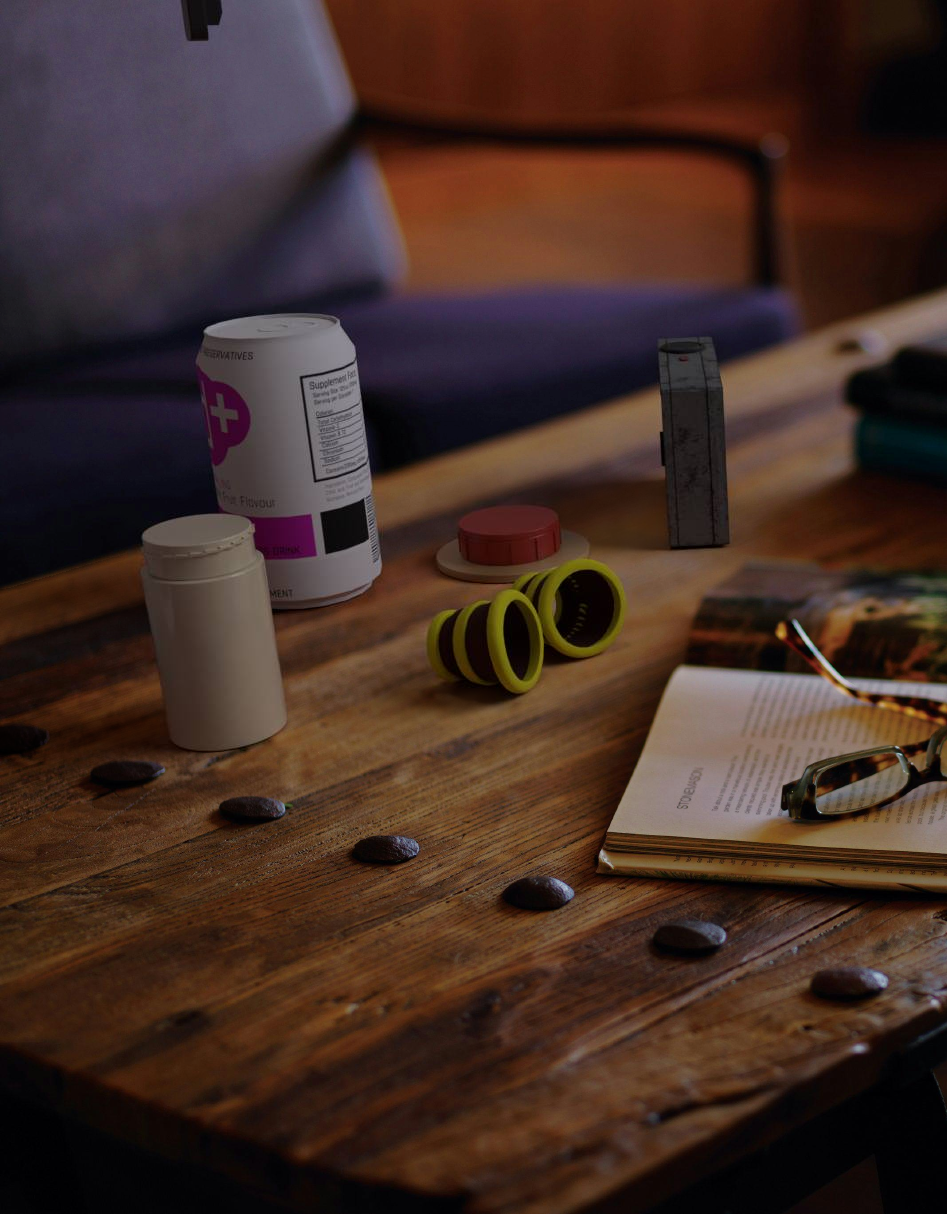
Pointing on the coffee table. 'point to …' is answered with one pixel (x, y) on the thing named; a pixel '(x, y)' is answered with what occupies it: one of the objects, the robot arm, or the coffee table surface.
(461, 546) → the jar lid
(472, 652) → the opera glasses
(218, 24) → the robot arm
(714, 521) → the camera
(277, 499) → the supplement can
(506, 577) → the coaster
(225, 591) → the jar
